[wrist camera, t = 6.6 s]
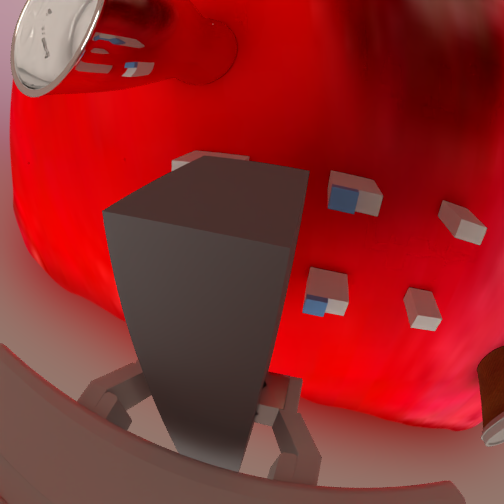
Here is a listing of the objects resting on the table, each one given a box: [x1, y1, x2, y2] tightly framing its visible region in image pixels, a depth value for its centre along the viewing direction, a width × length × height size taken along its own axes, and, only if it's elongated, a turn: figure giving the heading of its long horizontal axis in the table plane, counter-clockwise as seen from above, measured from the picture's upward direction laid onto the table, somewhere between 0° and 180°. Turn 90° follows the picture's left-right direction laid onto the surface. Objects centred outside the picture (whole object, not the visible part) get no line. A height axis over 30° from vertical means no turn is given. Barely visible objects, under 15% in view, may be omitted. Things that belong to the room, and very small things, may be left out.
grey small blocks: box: [172, 151, 487, 331], centre depth 21 cm, size 24×10×5 cm, turn 86°
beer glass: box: [11, 0, 237, 97], centre depth 11 cm, size 7×7×15 cm
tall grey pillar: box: [102, 155, 310, 472], centre depth 11 cm, size 4×16×5 cm, turn 176°
